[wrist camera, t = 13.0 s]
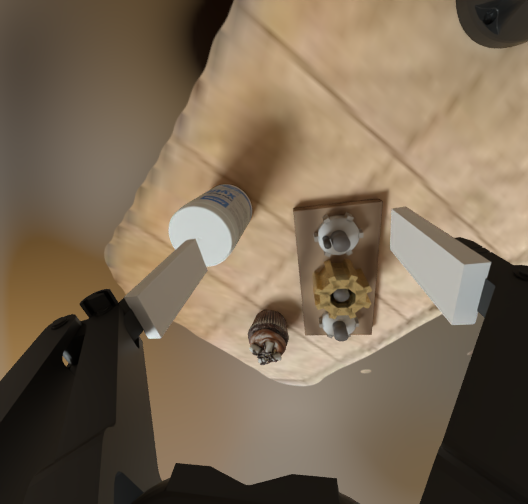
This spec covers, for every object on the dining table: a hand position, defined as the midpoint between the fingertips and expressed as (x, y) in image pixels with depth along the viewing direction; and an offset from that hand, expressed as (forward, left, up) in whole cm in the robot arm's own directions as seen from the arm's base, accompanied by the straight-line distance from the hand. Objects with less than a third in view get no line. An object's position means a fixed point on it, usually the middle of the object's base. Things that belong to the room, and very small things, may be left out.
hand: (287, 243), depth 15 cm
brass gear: (-7, +21, -26) cm, 34 cm away
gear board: (-7, +21, -28) cm, 35 cm away
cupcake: (+9, +34, -28) cm, 45 cm away
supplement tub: (+13, +4, -28) cm, 31 cm away
